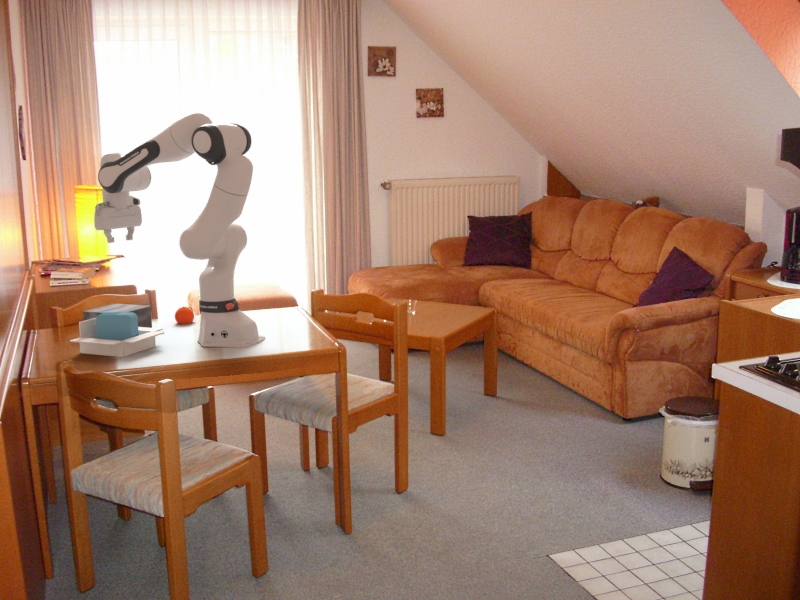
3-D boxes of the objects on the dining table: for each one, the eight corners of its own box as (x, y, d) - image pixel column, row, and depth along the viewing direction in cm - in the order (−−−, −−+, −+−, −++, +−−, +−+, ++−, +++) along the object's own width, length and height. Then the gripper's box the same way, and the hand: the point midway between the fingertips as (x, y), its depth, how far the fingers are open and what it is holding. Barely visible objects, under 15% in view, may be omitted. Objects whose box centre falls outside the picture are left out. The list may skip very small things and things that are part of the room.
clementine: (186, 322, 299) (185, 303, 297) (200, 323, 295) (199, 305, 294) (171, 326, 292) (170, 307, 290) (185, 328, 288) (184, 308, 287)
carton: (173, 344, 262) (171, 314, 261) (124, 361, 241) (122, 329, 239) (123, 339, 270) (120, 311, 268) (71, 356, 248) (68, 324, 246)
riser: (152, 330, 285) (150, 305, 283) (121, 339, 270) (119, 313, 269) (116, 327, 291) (114, 303, 289) (84, 336, 276) (82, 311, 274)
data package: (140, 348, 257) (137, 312, 255) (133, 351, 253) (130, 315, 251) (105, 347, 259) (102, 311, 257) (98, 351, 254) (95, 314, 252)
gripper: (102, 202, 262) (106, 244, 264) (143, 199, 281) (146, 238, 283) (87, 203, 264) (91, 244, 267) (128, 200, 283) (132, 238, 285)
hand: (120, 241), depth 275 cm, fingers open, 8 cm apart
